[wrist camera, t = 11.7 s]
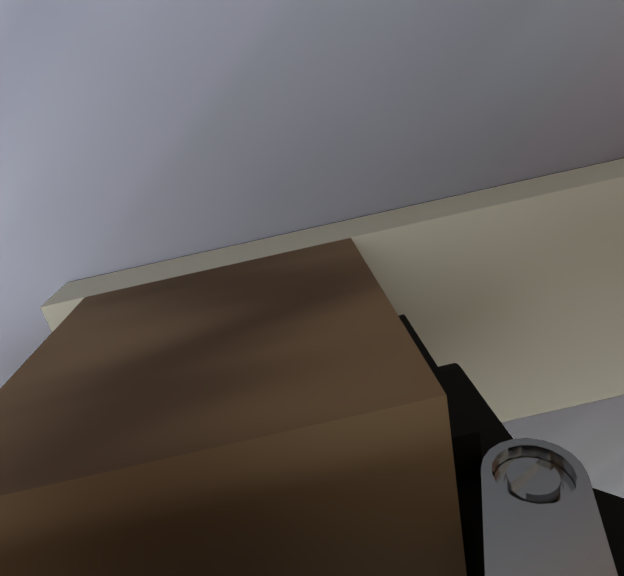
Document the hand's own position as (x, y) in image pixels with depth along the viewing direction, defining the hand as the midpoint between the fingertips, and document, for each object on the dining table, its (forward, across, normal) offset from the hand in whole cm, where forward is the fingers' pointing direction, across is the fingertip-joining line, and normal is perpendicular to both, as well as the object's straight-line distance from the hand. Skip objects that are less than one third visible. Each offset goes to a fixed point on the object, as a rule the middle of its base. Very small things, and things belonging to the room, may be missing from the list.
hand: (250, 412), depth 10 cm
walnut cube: (+1, 0, 0) cm, 1 cm away
